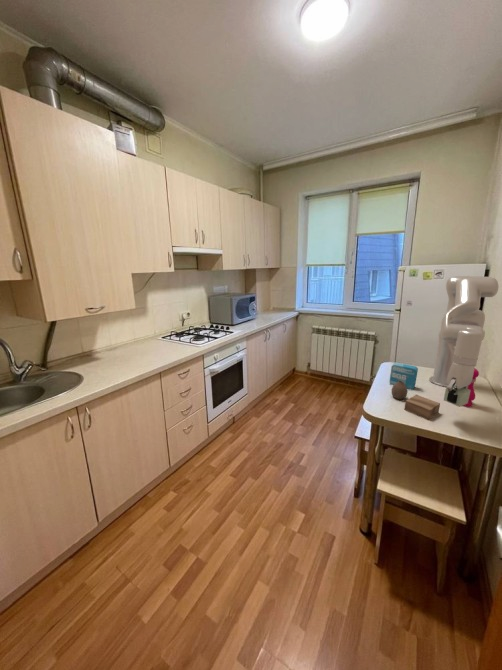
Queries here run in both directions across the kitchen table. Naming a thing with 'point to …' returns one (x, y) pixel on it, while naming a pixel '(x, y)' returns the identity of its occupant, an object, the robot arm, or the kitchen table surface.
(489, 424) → the kitchen table surface
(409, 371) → the data package
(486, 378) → the kitchen table surface
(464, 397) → the green cube
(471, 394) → the pepper mill
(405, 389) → the vase
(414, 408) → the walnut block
